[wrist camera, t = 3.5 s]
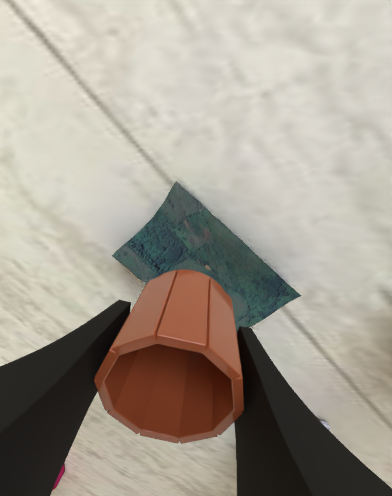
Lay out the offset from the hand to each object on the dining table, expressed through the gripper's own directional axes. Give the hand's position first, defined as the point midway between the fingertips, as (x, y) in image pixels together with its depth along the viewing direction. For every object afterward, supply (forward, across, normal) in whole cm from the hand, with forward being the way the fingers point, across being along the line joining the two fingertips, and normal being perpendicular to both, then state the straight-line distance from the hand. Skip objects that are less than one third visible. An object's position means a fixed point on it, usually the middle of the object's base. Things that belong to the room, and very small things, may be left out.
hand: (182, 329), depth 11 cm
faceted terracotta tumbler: (+2, 0, 0) cm, 2 cm away
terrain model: (+8, -1, 0) cm, 8 cm away
